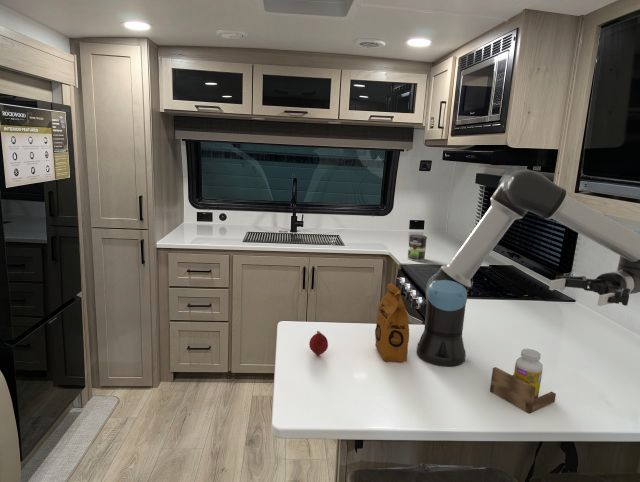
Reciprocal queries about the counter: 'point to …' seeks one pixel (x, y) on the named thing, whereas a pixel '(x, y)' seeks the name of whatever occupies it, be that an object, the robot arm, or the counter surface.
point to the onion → (318, 343)
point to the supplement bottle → (529, 368)
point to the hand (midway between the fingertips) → (574, 292)
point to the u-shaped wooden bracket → (518, 392)
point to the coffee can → (417, 247)
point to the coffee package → (392, 327)
